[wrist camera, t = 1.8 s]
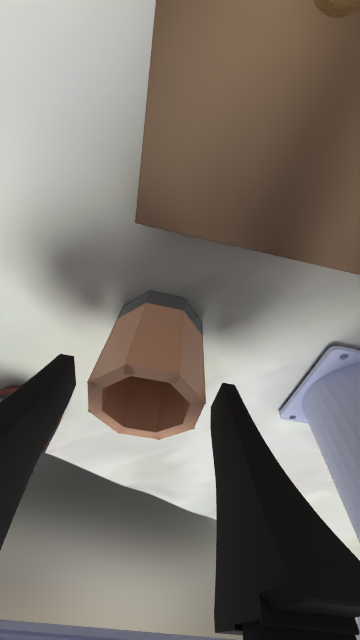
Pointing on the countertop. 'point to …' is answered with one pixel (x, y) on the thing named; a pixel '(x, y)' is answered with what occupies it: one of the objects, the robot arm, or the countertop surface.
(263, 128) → the pin board
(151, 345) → the sleeve
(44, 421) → the robot arm
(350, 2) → the brass pin
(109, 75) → the countertop surface
